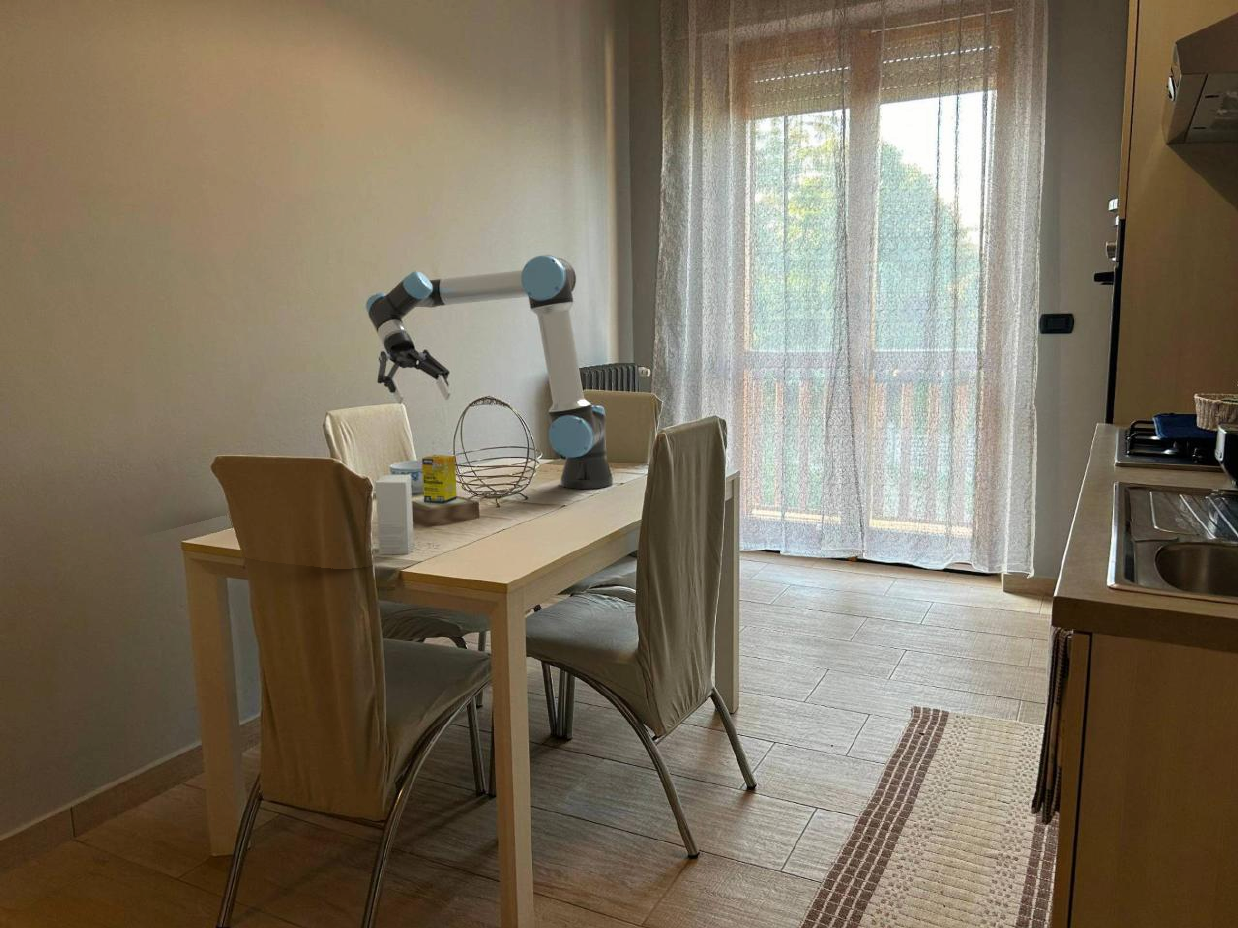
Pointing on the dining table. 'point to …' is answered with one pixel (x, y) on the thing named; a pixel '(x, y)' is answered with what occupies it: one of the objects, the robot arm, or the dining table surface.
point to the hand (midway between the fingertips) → (425, 398)
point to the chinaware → (410, 468)
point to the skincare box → (394, 514)
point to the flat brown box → (444, 511)
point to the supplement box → (439, 478)
